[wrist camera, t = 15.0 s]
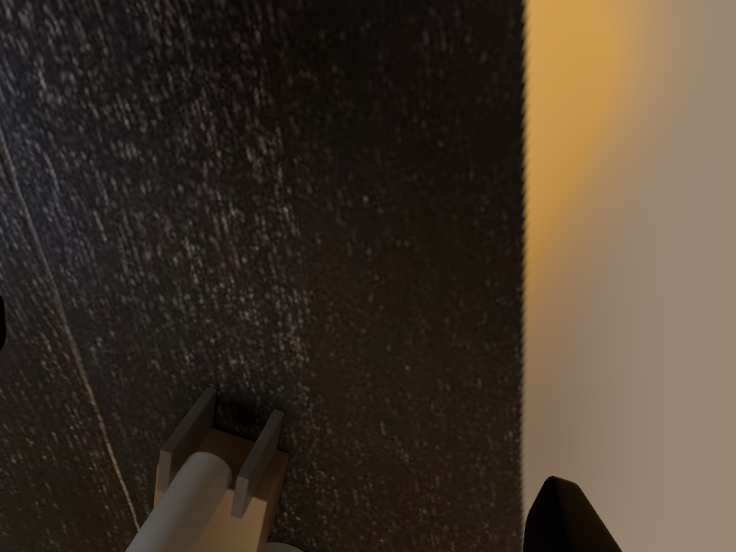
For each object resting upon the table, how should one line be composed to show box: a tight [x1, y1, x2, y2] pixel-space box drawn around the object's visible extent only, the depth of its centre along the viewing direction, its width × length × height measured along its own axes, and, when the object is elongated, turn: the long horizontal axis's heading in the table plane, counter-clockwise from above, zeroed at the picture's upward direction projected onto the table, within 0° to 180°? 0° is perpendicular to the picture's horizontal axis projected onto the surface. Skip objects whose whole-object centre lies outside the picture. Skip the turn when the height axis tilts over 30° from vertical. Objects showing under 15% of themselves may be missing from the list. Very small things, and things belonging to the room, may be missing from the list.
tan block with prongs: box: [154, 387, 289, 552], centre depth 27 cm, size 5×7×4 cm
